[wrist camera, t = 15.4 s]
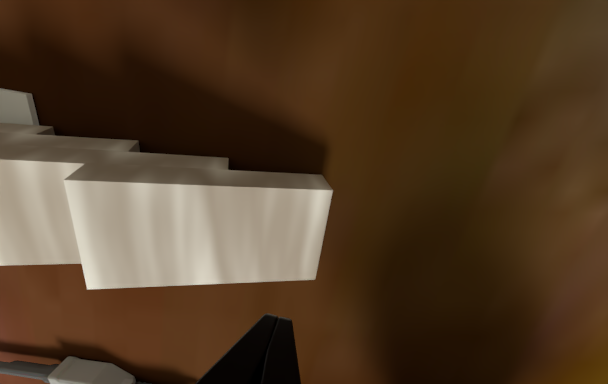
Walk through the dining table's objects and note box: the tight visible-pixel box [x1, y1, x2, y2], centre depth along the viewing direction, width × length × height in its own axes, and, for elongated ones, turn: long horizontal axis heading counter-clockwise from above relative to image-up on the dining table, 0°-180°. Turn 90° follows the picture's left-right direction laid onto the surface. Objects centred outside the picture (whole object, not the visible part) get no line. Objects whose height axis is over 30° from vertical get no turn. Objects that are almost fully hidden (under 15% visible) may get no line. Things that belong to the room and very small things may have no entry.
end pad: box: [0, 88, 39, 126], centre depth 17 cm, size 5×8×1 cm, turn 172°
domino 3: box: [64, 162, 333, 289], centre depth 13 cm, size 2×5×10 cm
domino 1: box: [0, 132, 140, 152], centre depth 14 cm, size 2×5×10 cm
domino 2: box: [0, 144, 229, 265], centre depth 14 cm, size 2×5×10 cm
